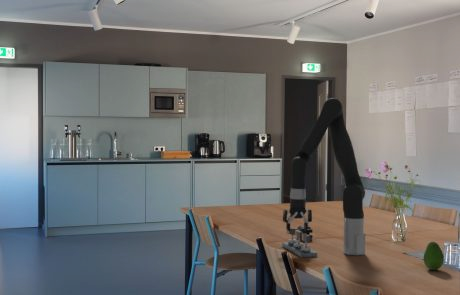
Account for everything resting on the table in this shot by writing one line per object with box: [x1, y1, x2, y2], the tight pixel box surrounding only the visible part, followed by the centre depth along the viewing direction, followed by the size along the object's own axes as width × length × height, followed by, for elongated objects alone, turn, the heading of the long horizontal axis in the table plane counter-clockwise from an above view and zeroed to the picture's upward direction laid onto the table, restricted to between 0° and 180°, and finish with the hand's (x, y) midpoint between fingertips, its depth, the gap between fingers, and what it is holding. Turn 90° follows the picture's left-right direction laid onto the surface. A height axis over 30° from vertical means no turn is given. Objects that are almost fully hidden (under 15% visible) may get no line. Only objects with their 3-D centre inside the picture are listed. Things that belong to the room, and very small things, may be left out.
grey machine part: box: [296, 225, 314, 242], centre depth 300 cm, size 10×7×7 cm
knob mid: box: [294, 230, 305, 248], centre depth 268 cm, size 6×4×8 cm
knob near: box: [301, 234, 312, 251], centre depth 260 cm, size 6×4×8 cm
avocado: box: [423, 241, 445, 271], centre depth 233 cm, size 8×8×12 cm
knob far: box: [286, 227, 299, 244], centre depth 277 cm, size 6×4×8 cm
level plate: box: [281, 241, 318, 259], centre depth 268 cm, size 26×8×3 cm, turn 14°
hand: (297, 230), depth 271 cm, fingers open, 8 cm apart
